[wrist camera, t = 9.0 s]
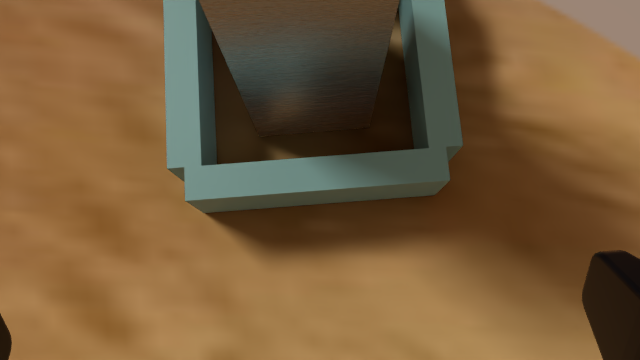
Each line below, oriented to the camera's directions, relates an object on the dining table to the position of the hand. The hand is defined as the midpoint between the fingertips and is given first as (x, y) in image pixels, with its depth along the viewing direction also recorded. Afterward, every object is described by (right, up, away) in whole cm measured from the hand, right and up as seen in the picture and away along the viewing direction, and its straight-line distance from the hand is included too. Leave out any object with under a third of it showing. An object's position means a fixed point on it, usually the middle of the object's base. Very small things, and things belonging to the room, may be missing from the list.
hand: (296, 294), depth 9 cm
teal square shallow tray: (0, +6, +15) cm, 16 cm away
